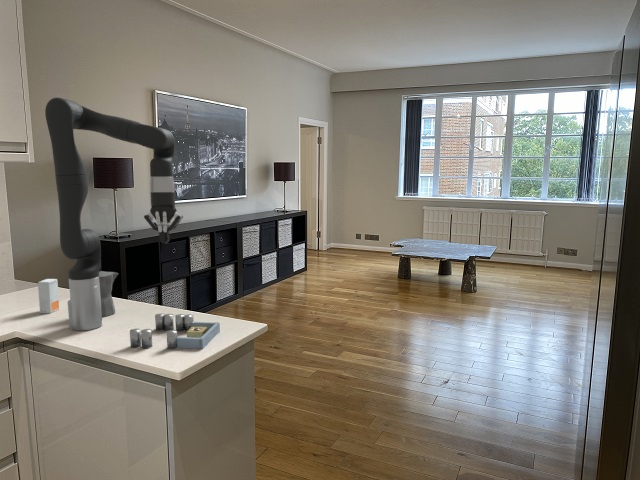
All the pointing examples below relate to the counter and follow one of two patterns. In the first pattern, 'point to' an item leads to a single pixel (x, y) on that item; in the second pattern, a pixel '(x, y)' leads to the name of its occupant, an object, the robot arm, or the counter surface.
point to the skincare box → (48, 295)
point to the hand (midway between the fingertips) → (164, 243)
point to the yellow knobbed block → (196, 332)
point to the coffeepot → (106, 292)
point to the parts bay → (204, 340)
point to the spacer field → (162, 324)
